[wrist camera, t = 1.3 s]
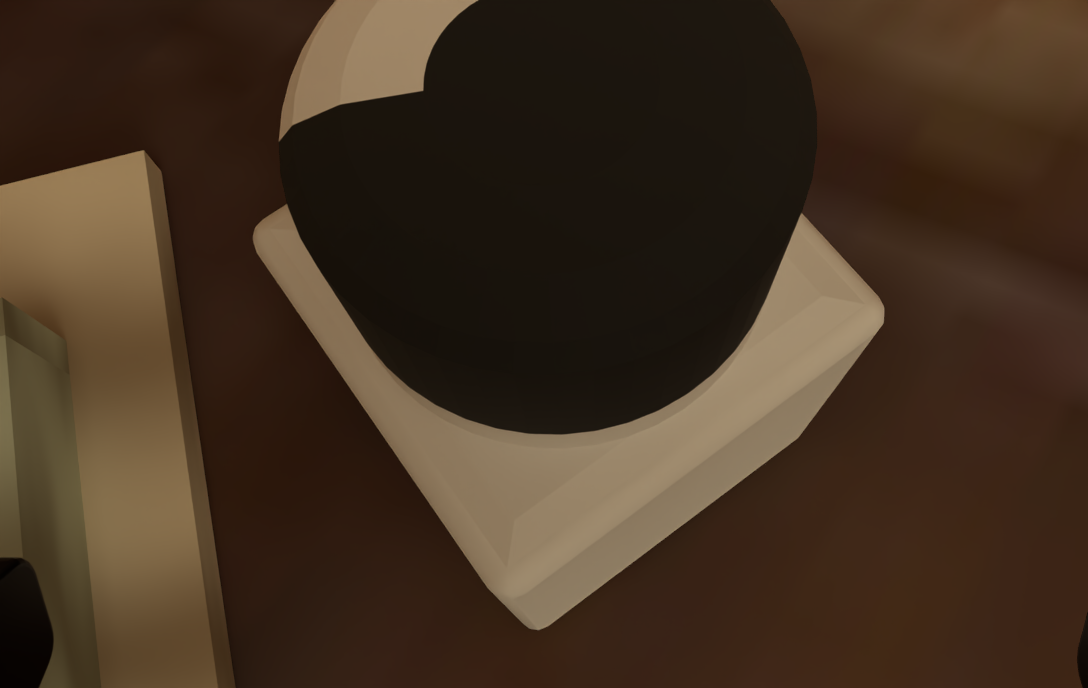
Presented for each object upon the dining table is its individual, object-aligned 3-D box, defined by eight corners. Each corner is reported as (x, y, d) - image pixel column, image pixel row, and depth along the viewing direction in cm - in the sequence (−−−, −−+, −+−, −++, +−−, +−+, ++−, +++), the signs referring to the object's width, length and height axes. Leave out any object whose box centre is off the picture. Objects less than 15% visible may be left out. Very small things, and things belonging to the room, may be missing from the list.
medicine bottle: (808, 432, 22) (1037, 133, 10) (533, 639, 21) (451, 560, 9) (604, 190, 24) (606, -276, 12) (345, 367, 23) (88, 31, 11)
